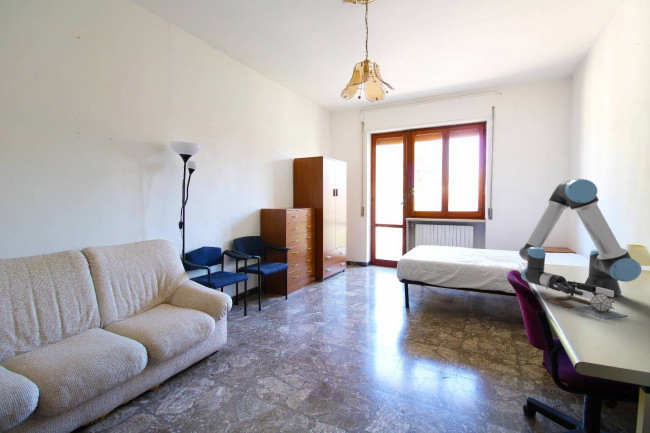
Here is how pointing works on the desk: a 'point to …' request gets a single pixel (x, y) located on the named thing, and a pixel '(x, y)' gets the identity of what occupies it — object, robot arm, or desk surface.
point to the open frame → (557, 299)
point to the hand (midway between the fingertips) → (602, 295)
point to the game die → (601, 302)
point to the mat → (603, 314)
